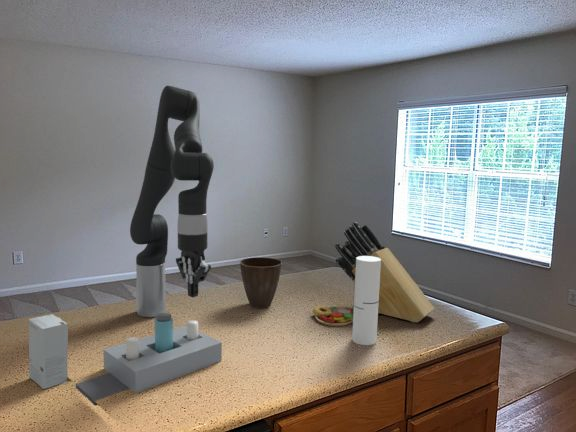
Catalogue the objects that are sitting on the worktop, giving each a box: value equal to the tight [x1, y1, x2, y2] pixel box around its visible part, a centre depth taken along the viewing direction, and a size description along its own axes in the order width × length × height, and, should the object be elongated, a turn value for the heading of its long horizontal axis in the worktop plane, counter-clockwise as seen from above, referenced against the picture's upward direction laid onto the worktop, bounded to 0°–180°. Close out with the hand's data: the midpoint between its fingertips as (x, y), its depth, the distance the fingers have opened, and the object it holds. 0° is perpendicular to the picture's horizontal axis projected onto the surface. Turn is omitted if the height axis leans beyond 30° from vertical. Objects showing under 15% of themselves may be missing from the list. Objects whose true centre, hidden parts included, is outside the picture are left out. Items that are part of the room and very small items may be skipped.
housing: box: [103, 324, 223, 394], centre depth 119 cm, size 16×24×6 cm, turn 136°
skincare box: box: [28, 313, 69, 390], centre depth 111 cm, size 8×6×15 cm
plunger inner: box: [186, 319, 199, 341], centre depth 124 cm, size 3×3×7 cm
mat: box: [75, 372, 130, 406], centre depth 108 cm, size 10×10×1 cm
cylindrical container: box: [351, 256, 381, 346], centre depth 138 cm, size 7×7×25 cm
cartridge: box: [154, 312, 174, 354], centre depth 118 cm, size 4×4×13 cm
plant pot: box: [239, 256, 283, 309], centre depth 168 cm, size 15×15×16 cm
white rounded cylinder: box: [125, 336, 140, 361], centre depth 112 cm, size 3×3×7 cm
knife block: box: [334, 221, 436, 323], centre depth 165 cm, size 11×35×31 cm, turn 54°
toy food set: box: [312, 305, 353, 327], centre depth 157 cm, size 13×13×3 cm
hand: (192, 296), depth 123 cm, fingers closed
